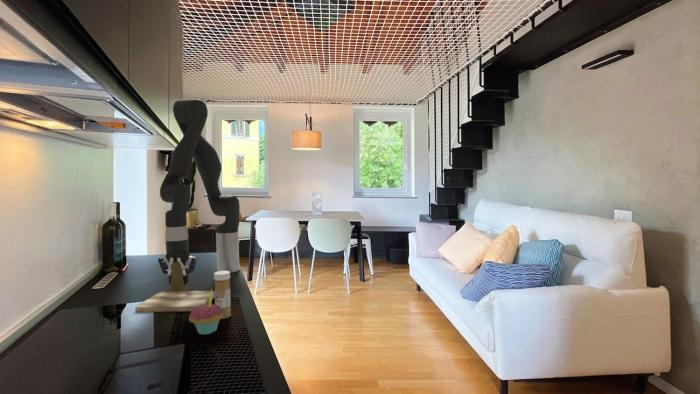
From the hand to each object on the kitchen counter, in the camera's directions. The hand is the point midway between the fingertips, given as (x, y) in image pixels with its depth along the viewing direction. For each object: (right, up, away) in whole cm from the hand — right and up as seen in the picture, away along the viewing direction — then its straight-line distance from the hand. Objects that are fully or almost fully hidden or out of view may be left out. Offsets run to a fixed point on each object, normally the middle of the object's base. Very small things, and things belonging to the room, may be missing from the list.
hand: (178, 284), depth 135 cm
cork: (0, -2, 0) cm, 2 cm away
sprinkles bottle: (+25, -4, -25) cm, 35 cm away
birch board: (+6, -3, -13) cm, 14 cm away
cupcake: (+24, -5, -35) cm, 43 cm away
